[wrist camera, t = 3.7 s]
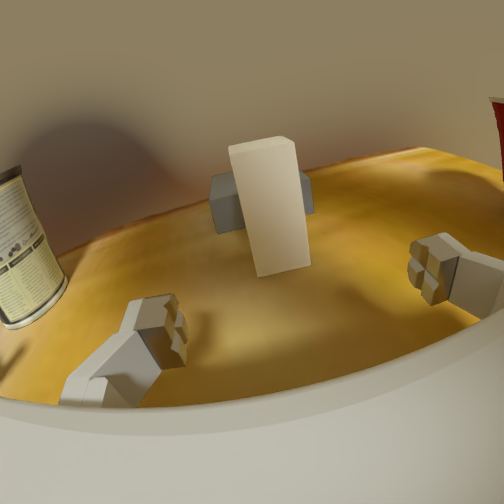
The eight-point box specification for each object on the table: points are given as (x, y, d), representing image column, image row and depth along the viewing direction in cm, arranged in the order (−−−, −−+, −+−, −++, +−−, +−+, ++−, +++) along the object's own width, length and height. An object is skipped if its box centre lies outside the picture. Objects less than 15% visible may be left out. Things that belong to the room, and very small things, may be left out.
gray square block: (293, 188, 38) (288, 159, 36) (314, 215, 29) (309, 178, 27) (219, 204, 38) (212, 176, 36) (218, 237, 29) (208, 200, 27)
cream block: (298, 240, 24) (281, 135, 20) (310, 265, 21) (294, 142, 16) (252, 251, 24) (228, 146, 20) (257, 277, 21) (229, 155, 16)
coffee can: (-9, 334, 20) (-68, 222, 13) (27, 283, 29) (-15, 188, 22) (45, 326, 20) (-25, 184, 13) (81, 267, 29) (36, 155, 22)
